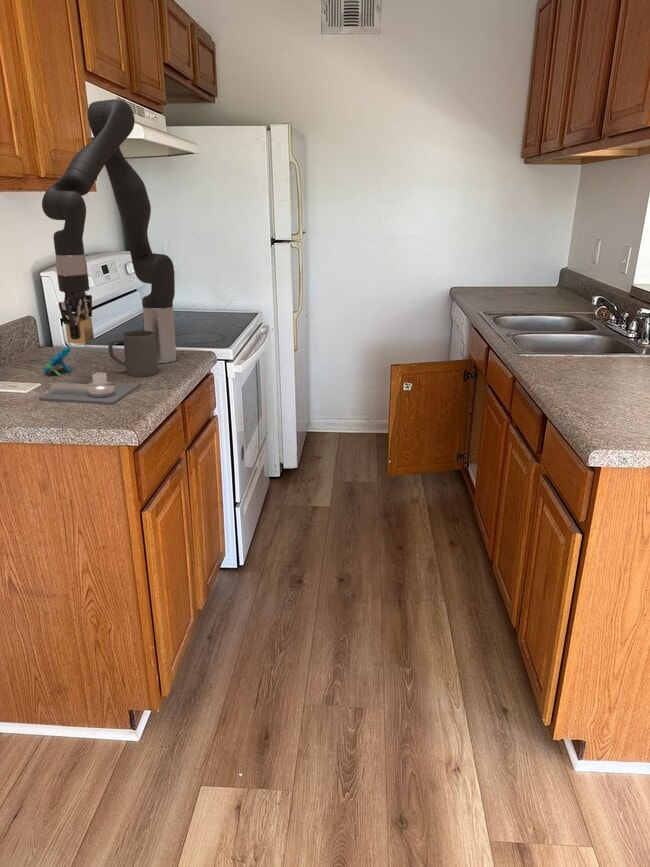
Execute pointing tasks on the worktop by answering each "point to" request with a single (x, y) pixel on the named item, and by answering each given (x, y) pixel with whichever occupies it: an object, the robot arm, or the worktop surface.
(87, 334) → the wooden toy cube
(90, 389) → the ratchet
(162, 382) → the worktop surface
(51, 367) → the blue toy piece
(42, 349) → the worktop surface
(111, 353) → the mug
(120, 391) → the mat
